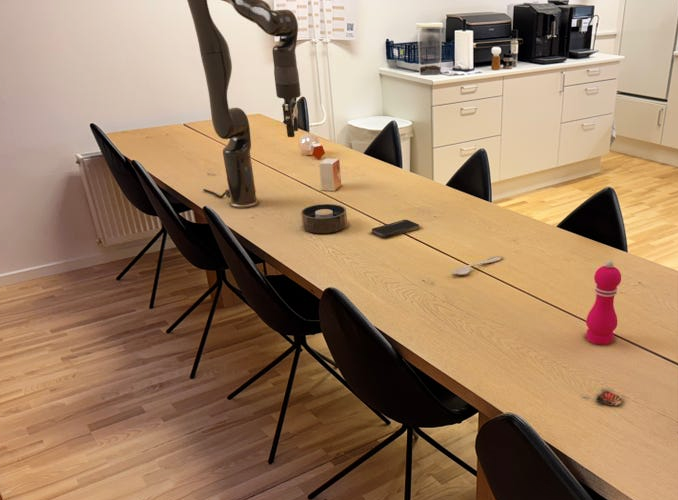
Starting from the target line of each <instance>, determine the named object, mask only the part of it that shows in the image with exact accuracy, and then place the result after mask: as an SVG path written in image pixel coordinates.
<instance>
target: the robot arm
mask: <svg viewBox="0 0 678 500" xmlns="http://www.w3.org/2000/svg"><path fill="white" fill-rule="evenodd" d="M221 1H222V2H225V3H228V5H230V6H231V7H232V8H233V9H234V11H235V12H236V13H237V14H238V15H239V16H241V17H242V18H244V19H246V20H248V21H250V22H252V23H254V24H256V25H257V26H258V27H259V28H260V29H261V30H262V31H263V32H264V33H265V34H267V35H269V36H271V37H279V40H278V43H277V44H275V45H273V47H272V50H271V51H272V52H271V53H272V62H273V75H274V76H273V77H274V84H275V85H274V86H275V92H276V93H275V94H276V97H277V98H278V99H283V103H282V104H281V107H282V116H283V124H284V125H285V127H286V133H287V134H286V135H287V137H288V138H294V137H295V135H296V134H295V132H298V131H299V125H298V117H299V112H298V111H299V110H298V103H297V98H300V97H301V95H302V93H301V85H300V75H299V74H300V73H299V69H298V62H297V53H296V50H297V43H298V33H299V23H298V19H297V17H296V15H295V13H294V12H292V11H291V10H290V9H276V10H275V9H272V8H271V6H270V4H269V3H268V2H267V1H265V0H221ZM186 2H187V4H188V8H189V11H190V14H191V18H192V22H193V25H194V26H193V27H194V29H195V30H194V31H195V33H196V38H197V42H198V48H199V53H200V59H201V63H202V67H203V72H204V76H205V80H206V86H207V92H208V99H209V108H210V115H211V122H212V126H213V127H212V128H213V129H214V132H215V134H216V135H217V136H218V137H219V138H220V139H222V140H228V143H227V144H226V145H225V146H224V147H223V149H222V157H223V162H224V169H225V174H226V175H225V176H226V183H227V189H225V190H224V191H225V192H223V193H222V194H221V195H220V194H218V193H217V192H215V191H212V190H210V189H206V188H203V190H202V191H204V192H206V193H209V194H212V195H214V196H215V197H217V198H220V199H221V198H224V197H226V198H228V199H229V200H230V206H231V207H233V208H237V209H238V208H239V209H245V208H251V207H254V206H256V205H258V198H257V189H256V185H255V184H256V183H255V178H254V177H255V176H254V170H253V164H252V157H251V156H252V155H251V149H252V139H251V128H250V122H249V118H248V116H247V113H246V112H245V111H244V110H243V109H242V108H240V107H232V108H230V107H229V101H228V100H229V99H228V90H229V87H230V86H229V85H230V82H231V77H232V71H233V63H232V57H231V52H230V47H229V44H228V41H227V40H226V39H225V37H224V35H223V34H222V32H221V31H220V29H219V28H218V26H217V24H216V23H215V22H214V19H213V18H212V16H211V13H210V8H209V5H208V0H186Z"/></svg>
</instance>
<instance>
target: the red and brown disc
mask: <svg viewBox="0 0 678 500" xmlns="http://www.w3.org/2000/svg"><path fill="white" fill-rule="evenodd" d="M621 398H622V396H621V395H620V394H617V393H614V391H610V390H608V389H604V390H603V391H602V392H601V393H600V394H599V395H597V398H596V401H598V402H599V403H601V404H602V403H603V404H605V405H609V406H619V405H621V402H622V400H620V399H621Z"/></svg>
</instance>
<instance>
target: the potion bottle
mask: <svg viewBox="0 0 678 500" xmlns="http://www.w3.org/2000/svg"><path fill="white" fill-rule="evenodd" d="M298 148H299V150H300V152H301V153H302V154H304V155H306V156H312V157H314V158H315V159H317V160H320V159H321V158H322V157H323V156H324V155H325V154H326V152H325V149H324V146H323V144H322V143H321V142H320V140H319V139H318V137H317V136H316V135H314V134H313V133H307V132H306V133H305V134H302V135H301V136H300V137H299V139H298Z"/></svg>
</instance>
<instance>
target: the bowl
mask: <svg viewBox="0 0 678 500" xmlns="http://www.w3.org/2000/svg"><path fill="white" fill-rule="evenodd" d="M321 209H329V210H332V211H333V217H328V218H316V216H315V212H316V211H317V210H321ZM300 216H301V226H302V227H301V228H302V229H304V230H305V231H307V232H309V233H312V234H321V235H323V234H325V235H326V234H333V233H336V232H339V231H342V230H344V229H345V228H347V226H348V215H347V208H345V206H343V205H339V204H334V203H320V204H314V205H309V206H307V207H304V208H303V209H302V210H300Z"/></svg>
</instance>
